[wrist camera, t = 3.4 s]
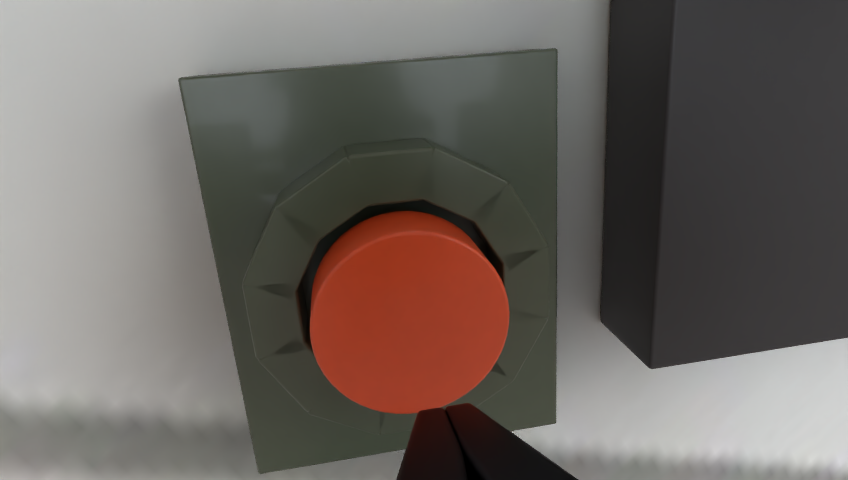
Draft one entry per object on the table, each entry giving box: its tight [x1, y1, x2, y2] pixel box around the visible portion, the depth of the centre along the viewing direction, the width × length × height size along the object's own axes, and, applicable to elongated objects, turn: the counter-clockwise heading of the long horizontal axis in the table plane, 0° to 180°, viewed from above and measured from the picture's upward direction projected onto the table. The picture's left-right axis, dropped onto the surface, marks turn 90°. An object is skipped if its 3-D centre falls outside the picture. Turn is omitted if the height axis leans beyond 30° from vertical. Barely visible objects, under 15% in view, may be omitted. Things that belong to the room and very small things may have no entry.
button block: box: [178, 48, 557, 474], centre depth 15 cm, size 11×9×3 cm
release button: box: [310, 211, 509, 414], centre depth 13 cm, size 4×4×2 cm
